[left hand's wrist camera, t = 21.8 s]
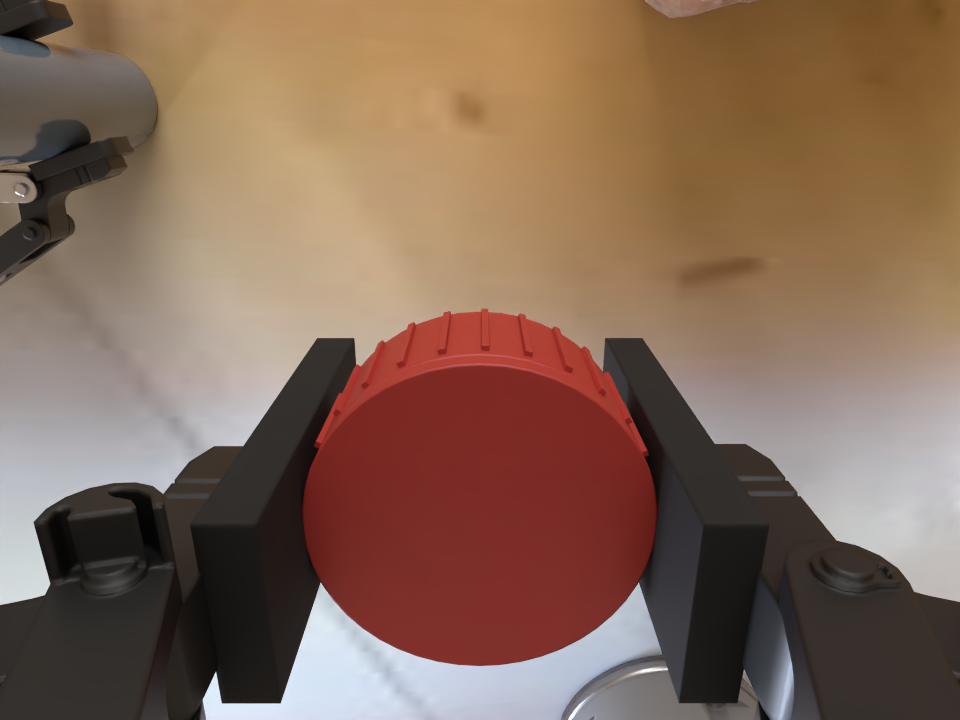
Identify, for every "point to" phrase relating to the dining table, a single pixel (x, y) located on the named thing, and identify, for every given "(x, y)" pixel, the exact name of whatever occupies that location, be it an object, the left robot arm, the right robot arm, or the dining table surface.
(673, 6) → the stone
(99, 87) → the bottle
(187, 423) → the dining table surface
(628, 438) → the lid
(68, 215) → the right robot arm
